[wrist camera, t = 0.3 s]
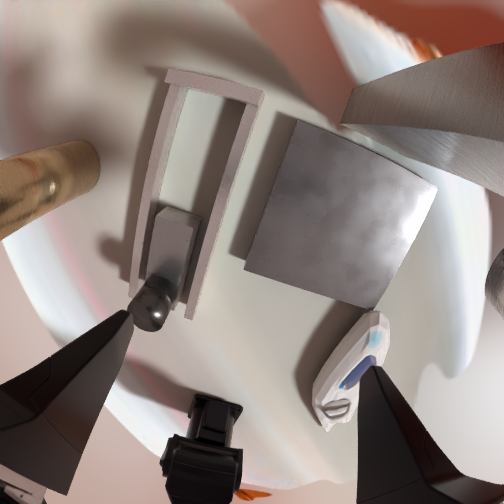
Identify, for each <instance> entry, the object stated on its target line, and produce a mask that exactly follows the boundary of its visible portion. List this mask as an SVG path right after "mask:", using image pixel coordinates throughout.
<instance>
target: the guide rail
mask: <svg viewBox="0 0 504 504" xmlns="http://www.w3.org/2000/svg"><path fill="white" fill-rule="evenodd" d="M164 82H166V83H169V84H170V87H169V90H168V93H167V96H166V99H165V103H164V106H163V110H162V113H161V116H160V120H159V124H158V127H157V131H156V135H155V139H154V143H153V147H152V151H151V155H150V159H149V164H148V168H147V173H146V178H145V182H144V187H143V192H142V198H141V203H140V209H139V215H138V221H137V227H136V233H135V240H134V248H133V255H132V264H131V273H130V283H129V294H128V296H129V297H131V298H134V297H135V295H136V294H137V293H138V291H139V290H140V288H141V287H142V286H143V284H144V279H145V271H146V265H147V258H148V252H149V246H150V240H151V234H152V229H153V224H154V218H155V213H156V208H157V203H158V199H159V194H160V190H161V185H162V181H163V176H164V172H165V168H166V164H167V160H168V156H169V152H170V148H171V145H172V141H173V137H174V134H175V130H176V127H177V123H178V120H179V116H180V113H181V110H182V107H183V103H184V100H185V97H186V94H187V91H188V89H192V90H196V91H200V92H205V93H209V94H213V95H217V96H220V97H224V98H228V99H232V100H235V101H239V102H242V103H246V104H247V105H246V107H245V110H244V113H243V116H242V119H241V122H240V125H239V128H238V131H237V134H236V137H235V140H234V143H233V146H232V149H231V152H230V155H229V158H228V161H227V164H226V167H225V171H224V174H223V177H222V180H221V183H220V187H219V190H218V193H217V197H216V200H215V203H214V207H213V210H212V213H211V217H210V220H209V224H208V227H207V231H206V234H205V238H204V241H203V245H202V249H201V252H200V256H199V260H198V263H197V267H196V271H195V275H194V279H193V282H192V286H191V290H190V294H189V298H188V302H187V306H186V310H185V314H184V318H187V319H190V320H192V319H193V317H194V314H195V312H196V309H197V306H198V302H199V299H200V295H201V292H202V288H203V285H204V281H205V278H206V274H207V271H208V267H209V264H210V261H211V257H212V254H213V250H214V247H215V244H216V240H217V237H218V234H219V231H220V227H221V224H222V221H223V218H224V214H225V211H226V208H227V205H228V202H229V199H230V196H231V192H232V189H233V186H234V183H235V180H236V177H237V174H238V171H239V168H240V165H241V162H242V159H243V156H244V153H245V150H246V147H247V144H248V141H249V138H250V135H251V133H252V130H253V127H254V124H255V121H256V118H257V115H258V113H259V110H260V107H261V104H262V101H263V99H264V96H265V95H264V93H263V91H262V90H259V89H255V88H252V87H248V86H245V85H241V84H238V83H234V82H230V81H226V80H222V79H218V78H214V77H210V76H205V75H201V74H196V73H191V72H186V71H181V70H175V69H168V72H167V75H166V78H165V81H164Z"/></svg>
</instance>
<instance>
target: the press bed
mask: <svg viewBox="0 0 504 504" xmlns="http://www.w3.org/2000/svg"><path fill="white" fill-rule="evenodd" d="M340 124H341V125H344V126H346V127H348V128H350V129H352V130H355V131H357V132H359V133H361V134H363V135H365V136H367V137H369V138H371V139H373V140H375V141H377V142H379V143H381V144H383V145H385V146H387V147H389V148H391V149H393V150H395V151H396V152H398V153H400V154H402V155H404V156H405V157H408V158H411V159H414V160H417V161H420V162H422V163H425V164H428V165H431V166H434V167H436V168H439V169H442V170H444V171H447V172H449V173H452V174H454V175H457V176H459V177H462V178H464V179H467V180H469V181H471V182H474V183H476V184H478V185H480V186H483V187H485V188H487V189H489V190H491V191H493V192H495V193H497V194H500V195H501V196H504V42H502V43H496V44H491V45H487V46H483V47H478V48H474V49H470V50H465V51H462V52H458V53H454V54H451V55H447V56H443V57H440V58H437V59H433V60H430V61H427V62H424V63H421V64H418V65H415V66H412V67H409V68H406V69H403V70H400V71H397V72H395V73H392V74H389V75H387V76H384V77H381V78H379V79H376V80H374V81H371V82H369V83H366V84H364V85H361V86H359V87H356V88H354V89H353V90H352V93H351V96H350V98H349V101H348V104H347V107H346V109H345V112H344V115H343V117H342V120H341V122H340ZM437 190H438V188H437V187H435V186H434V185H432V184H430V183H429V182H427V181H425V180H424V179H422V178H420V177H419V176H417V175H415V174H413V173H412V172H410V171H408V170H406V169H404V168H402V167H401V166H399V165H397V164H395V163H393V162H391V161H389V160H387V159H385V158H384V157H382V156H380V155H378V154H376V153H374V152H371V151H369V150H367V149H365V148H363V147H361V146H359V145H357V144H355V143H352V142H350V141H348V140H346V139H343V138H341V137H339V136H337V135H334V134H332V133H330V132H327V131H325V130H322V129H320V128H317V127H315V126H312V125H310V124H307V123H305V122H302V121H299V120H298V121H297V122H296V125H295V128H294V130H293V133H292V136H291V139H290V141H289V144H288V147H287V149H286V152H285V155H284V157H283V160H282V163H281V166H280V168H279V171H278V174H277V176H276V179H275V182H274V185H273V187H272V190H271V193H270V195H269V198H268V201H267V204H266V206H265V209H264V212H263V215H262V217H261V220H260V223H259V225H258V228H257V231H256V234H255V236H254V239H253V242H252V244H251V247H250V250H249V253H248V255H247V258H246V261H245V265H244V270H246V271H249V272H252V273H255V274H258V275H261V276H264V277H267V278H270V279H273V280H276V281H279V282H282V283H286V284H289V285H292V286H295V287H298V288H301V289H304V290H307V291H311V292H314V293H317V294H320V295H323V296H326V297H330V298H333V299H336V300H339V301H342V302H346V303H349V304H352V305H355V306H359V307H362V308H365V309H368V310H372V311H373V309H374V308H375V306H376V305H377V303H378V301H379V300H380V298H381V297H382V295H383V293H384V292H385V290H386V289H387V287H388V285H389V284H390V282H391V280H392V278H393V277H394V275H395V273H396V272H397V270H398V268H399V266H400V265H401V263H402V261H403V259H404V257H405V256H406V254H407V252H408V250H409V248H410V246H411V244H412V242H413V240H414V239H415V237H416V235H417V233H418V231H419V229H420V227H421V225H422V223H423V221H424V218H425V216H426V214H427V212H428V210H429V208H430V206H431V203H432V201H433V199H434V197H435V194H436V192H437ZM485 296H486V298H487V300H488V301H489V302H490V303H491V305H493V307H494V308H495V309H496V310H497V311H498V313H499V314H500V315H501V317H502V318H503V319H504V249H503V250H502V251H501V252H500V253H499V254H498V256H497V257H496V259H495V260H494V262H493V263H492V265H491V267H490V270H489V272H488V275H487V278H486V283H485Z"/></svg>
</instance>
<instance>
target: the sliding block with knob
mask: <svg viewBox="0 0 504 504" xmlns="http://www.w3.org/2000/svg"><path fill="white" fill-rule="evenodd" d="M200 221H201V217H200V216H197V215H194V214H191V213H188V212H185V211H182V210H179V209H176V208H173V207H170V206H167V207H165V208H164V209H163V210H162V211H161V212H159V213H158V214H157V215H156V217H155V223H154V228H153V233H152V239H151V245H150V251H149V257H148V263H147V270H146V277H145V283H144V284H143V286H142V287H141V288H140V290H139V291H138V293H137V294H136V295H135V297H134V298H133V299H132V301H131V302H130V304H129V305H128V308H127V311H129V312H131V313H132V315H133V324H134V325H136V326H137V327H138V328H140V329H142V330H144V331H148V332H155V331H158V330H160V329H161V328H162V326H163V324H164V322H165V320H166V318H167V316H168V314H169V312H170V310H174V309H175V307H176V305H177V303H178V301H179V299H180V297H181V295H182V292H183V288H184V284H185V279H186V275H187V271H188V267H189V263H190V259H191V255H192V251H193V247H194V243H195V240H196V236H197V232H198V228H199V225H200Z"/></svg>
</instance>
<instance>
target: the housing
mask: <svg viewBox="0 0 504 504" xmlns="http://www.w3.org/2000/svg"><path fill="white" fill-rule="evenodd" d="M99 175H100V160H99V157H98V154H97V152H96V150H95V149H94V147H93V146H92V145H91V144H89V143H88V142H86V141H83V140H77V141H72V142H68V143H63V144H58V145H54V146H50V147H46V148H42V149H38V150H34V151H30V152H26V153H23V154H19V155H16V156H13V157H9V158H6V159H3V160H0V241H1V240H2V239H4V238H5V237H7V236H9V235H10V234H12V233H13V232H15V231H17V230H18V229H20V228H22V227H23V226H25V225H27V224H28V223H30V222H32V221H34V220H35V219H37V218H39V217H41V216H42V215H44V214H46V213H48V212H50V211H51V210H53V209H55V208H57V207H59V206H61V205H63V204H65V203H67V202H69V201H71V200H73V199H75V198H77V197H79V196H81V195H83V194H85V193H87V192H89V191H90V190H92V189H93V188H94V186H95V185H96V183H97V181H98V179H99Z"/></svg>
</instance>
